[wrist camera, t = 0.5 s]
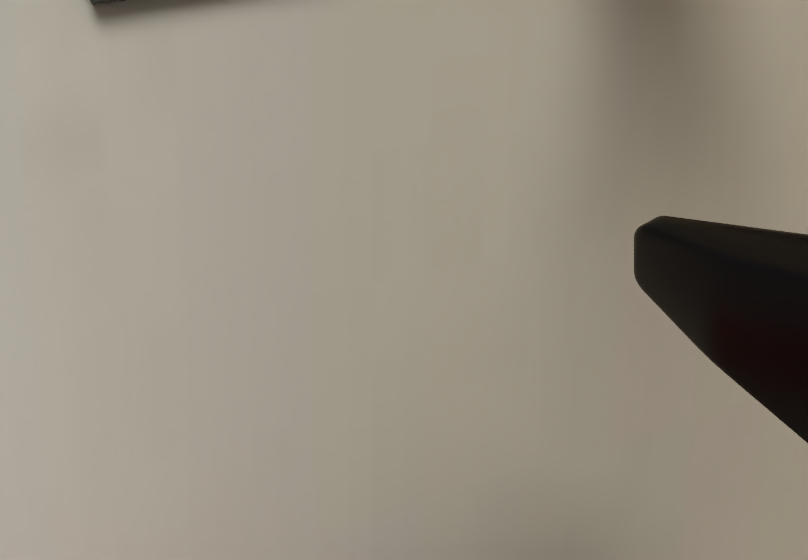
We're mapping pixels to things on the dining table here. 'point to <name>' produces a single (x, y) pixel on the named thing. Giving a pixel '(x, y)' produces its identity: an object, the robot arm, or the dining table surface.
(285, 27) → the dining table surface
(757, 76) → the dining table surface
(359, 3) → the dining table surface
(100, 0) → the slate board
